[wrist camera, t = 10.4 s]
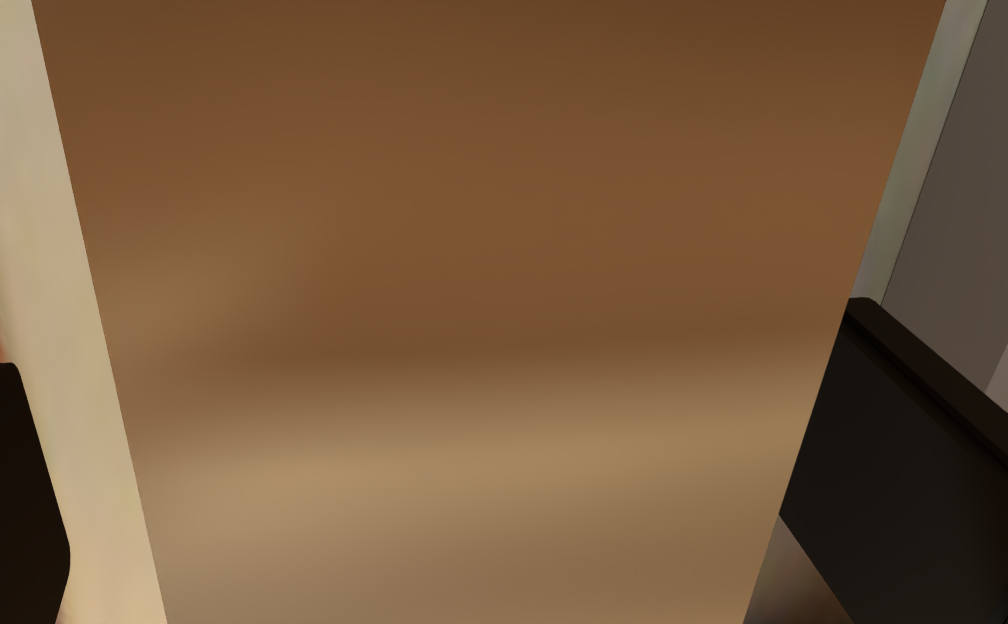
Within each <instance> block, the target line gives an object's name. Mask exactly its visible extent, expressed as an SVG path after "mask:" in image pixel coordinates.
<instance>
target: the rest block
mask: <svg viewBox="0 0 1008 624" xmlns="http://www.w3.org/2000/svg"><path fill="white" fill-rule="evenodd" d="M881 307H882V308H883V309H885V310H886V311H887V312H888V313H889V314H891V315H892V316H893V317H894V318H895V319H896V320H898V321H899V322H900V323H901V324H902V325H904V326H905V327H906V328H907V329H908V330H910V331H911V332H912V333H913V334H914V335H916V336H917V337H918V338H919V339H920V340H921V341H923V342H924V343H925V344H926V345H927V346H929V347H930V348H931V349H932V350H933V351H935V352H936V353H937V354H938V355H939V356H940V357H942V358H943V359H944V360H945V361H946V362H948V363H949V364H950V365H951V366H952V367H954V368H955V369H956V370H957V371H958V372H959V373H961V374H962V375H963V376H964V377H965V378H967V379H968V380H969V381H970V382H971V383H973V384H974V385H975V386H976V387H977V388H978V389H980V390H981V391H982V392H983V393H984V394H986V395H987V396H988V397H989V398H990V399H992V400H993V401H994V402H995V403H996V404H998V405H999V406H1000V407H1001V408H1002V409H1003V410H1005V411H1006V412H1007V413H1008V0H989V1H988V4H987V7H986V10H985V12H984V15H983V18H982V21H981V24H980V27H979V29H978V32H977V35H976V38H975V41H974V44H973V47H972V49H971V52H970V55H969V58H968V61H967V64H966V66H965V69H964V72H963V75H962V78H961V81H960V83H959V86H958V89H957V92H956V95H955V98H954V101H953V103H952V106H951V109H950V112H949V115H948V118H947V120H946V123H945V126H944V129H943V132H942V135H941V137H940V140H939V143H938V146H937V149H936V152H935V155H934V157H933V160H932V163H931V166H930V169H929V172H928V174H927V177H926V180H925V183H924V186H923V189H922V191H921V194H920V197H919V200H918V203H917V206H916V209H915V211H914V214H913V217H912V220H911V223H910V226H909V228H908V231H907V234H906V237H905V240H904V243H903V245H902V248H901V251H900V254H899V257H898V260H897V263H896V265H895V268H894V271H893V274H892V277H891V280H890V282H889V285H888V288H887V291H886V294H885V297H884V299H883V302H882V305H881Z"/></svg>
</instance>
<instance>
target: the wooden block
mask: <svg viewBox="0 0 1008 624" xmlns="http://www.w3.org/2000/svg"><path fill="white" fill-rule="evenodd" d="M31 2H32V6H33V11H34V15H35V20H36V24H37V29H38V34H39V38H40V43H41V47H42V52H43V56H44V61H45V66H46V70H47V75H48V79H49V84H50V88H51V93H52V98H53V102H54V107H55V111H56V116H57V120H58V125H59V130H60V134H61V139H62V143H63V148H64V152H65V157H66V161H67V166H68V171H69V175H70V180H71V184H72V189H73V193H74V198H75V203H76V207H77V212H78V216H79V221H80V225H81V230H82V235H83V239H84V244H85V248H86V253H87V257H88V262H89V267H90V271H91V276H92V280H93V285H94V289H95V294H96V299H97V303H98V308H99V312H100V317H101V321H102V326H103V331H104V335H105V340H106V344H107V349H108V353H109V358H110V363H111V367H112V372H113V376H114V381H115V385H116V390H117V395H118V399H119V404H120V408H121V413H122V417H123V422H124V427H125V431H126V436H127V440H128V445H129V449H130V454H131V459H132V463H133V468H134V472H135V477H136V481H137V486H138V491H139V495H140V500H141V504H142V509H143V513H144V518H145V523H146V527H147V532H148V536H149V541H150V545H151V550H152V555H153V559H154V564H155V568H156V573H157V577H158V582H159V587H160V591H161V596H162V600H163V605H164V609H165V614H166V619H167V623H168V624H743V621H744V618H745V615H746V612H747V609H748V606H749V602H750V599H751V596H752V593H753V590H754V587H755V584H756V581H757V578H758V575H759V572H760V569H761V566H762V563H763V560H764V557H765V553H766V550H767V547H768V544H769V541H770V538H771V535H772V532H773V529H774V526H775V523H776V520H777V517H778V514H779V511H780V508H781V504H782V501H783V498H784V495H785V492H786V489H787V486H788V483H789V480H790V477H791V474H792V471H793V468H794V465H795V462H796V459H797V455H798V452H799V449H800V446H801V443H802V440H803V437H804V434H805V431H806V428H807V425H808V422H809V419H810V416H811V413H812V410H813V406H814V403H815V400H816V397H817V394H818V391H819V388H820V385H821V382H822V379H823V376H824V373H825V370H826V367H827V364H828V361H829V357H830V354H831V351H832V348H833V345H834V342H835V339H836V336H837V333H838V330H839V327H840V324H841V321H842V318H843V315H844V312H845V308H846V305H847V302H848V299H849V296H850V293H851V290H852V287H853V284H854V281H855V278H856V275H857V272H858V269H859V266H860V262H861V259H862V256H863V253H864V250H865V247H866V244H867V241H868V238H869V235H870V232H871V229H872V226H873V223H874V220H875V217H876V213H877V210H878V207H879V204H880V201H881V198H882V195H883V192H884V189H885V186H886V183H887V180H888V177H889V174H890V171H891V168H892V164H893V161H894V158H895V155H896V152H897V149H898V146H899V143H900V140H901V137H902V134H903V131H904V128H905V125H906V122H907V119H908V115H909V112H910V109H911V106H912V103H913V100H914V97H915V94H916V91H917V88H918V85H919V82H920V79H921V76H922V73H923V70H924V66H925V63H926V60H927V57H928V54H929V51H930V48H931V45H932V42H933V39H934V36H935V33H936V30H937V27H938V24H939V21H940V17H941V14H942V11H943V8H944V5H945V2H946V0H31Z"/></svg>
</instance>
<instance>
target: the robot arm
mask: <svg viewBox="0 0 1008 624" xmlns="http://www.w3.org/2000/svg"><path fill="white" fill-rule="evenodd" d="M779 515H780V517H781V518H782V520H783V521H784V523H785V524H786V525H787V527H788V528H789V530H790V531H791V533H792V534H793V535H794V537H795V538H796V540H797V541H798V543H799V544H800V546H801V547H802V548H803V550H804V551H805V553H806V554H807V556H808V557H809V559H810V560H811V561H812V563H813V564H814V566H815V567H816V569H817V570H818V571H819V573H820V574H821V576H822V577H823V579H824V580H825V582H826V583H827V584H828V586H829V587H830V589H831V590H832V592H833V593H834V595H835V596H836V597H837V599H838V600H839V602H840V603H841V605H842V606H843V608H844V609H845V610H846V612H847V613H848V615H849V616H850V618H851V619H852V620H853V622H854V623H855V624H1008V413H1007V412H1006V411H1005V410H1003V409H1002V408H1001V407H1000V406H999V405H998V404H996V403H995V402H994V401H993V400H992V399H990V398H989V397H988V396H987V395H986V394H984V393H983V392H982V391H981V390H980V389H978V388H977V387H976V386H975V385H974V384H973V383H971V382H970V381H969V380H968V379H967V378H965V377H964V376H963V375H962V374H961V373H959V372H958V371H957V370H956V369H955V368H954V367H952V366H951V365H950V364H949V363H948V362H946V361H945V360H944V359H943V358H942V357H940V356H939V355H938V354H937V353H936V352H935V351H933V350H932V349H931V348H930V347H929V346H927V345H926V344H925V343H924V342H923V341H921V340H920V339H919V338H918V337H917V336H916V335H914V334H913V333H912V332H911V331H910V330H908V329H907V328H906V327H905V326H904V325H902V324H901V323H900V322H899V321H898V320H896V319H895V318H894V317H893V316H892V315H891V314H889V313H888V312H887V311H886V310H885V309H883V308H882V307H881V306H880V305H879V304H877V303H876V302H875V301H873V300H872V299H870V298H865V297H858V298H849V299H848V302H847V305H846V308H845V312H844V315H843V318H842V321H841V324H840V327H839V330H838V333H837V336H836V339H835V342H834V345H833V348H832V351H831V354H830V357H829V361H828V364H827V367H826V370H825V373H824V376H823V379H822V382H821V385H820V388H819V391H818V394H817V397H816V400H815V403H814V406H813V410H812V413H811V416H810V419H809V422H808V425H807V428H806V431H805V434H804V437H803V440H802V443H801V446H800V449H799V452H798V455H797V459H796V462H795V465H794V468H793V471H792V474H791V477H790V480H789V483H788V486H787V489H786V492H785V495H784V498H783V501H782V504H781V508H780V511H779ZM69 571H70V546H69V541H68V538H67V534H66V531H65V527H64V524H63V521H62V517H61V514H60V510H59V507H58V503H57V500H56V496H55V493H54V490H53V486H52V483H51V479H50V476H49V472H48V469H47V465H46V462H45V459H44V455H43V452H42V448H41V445H40V441H39V438H38V434H37V431H36V428H35V424H34V421H33V417H32V414H31V410H30V407H29V403H28V400H27V397H26V393H25V390H24V386H23V383H22V379H21V376H20V373H19V371H18V368H17V367H16V365H15V364H13V363H11V362H10V363H0V624H55V622H56V619H57V615H58V612H59V608H60V605H61V601H62V598H63V594H64V591H65V587H66V584H67V580H68V576H69Z"/></svg>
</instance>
